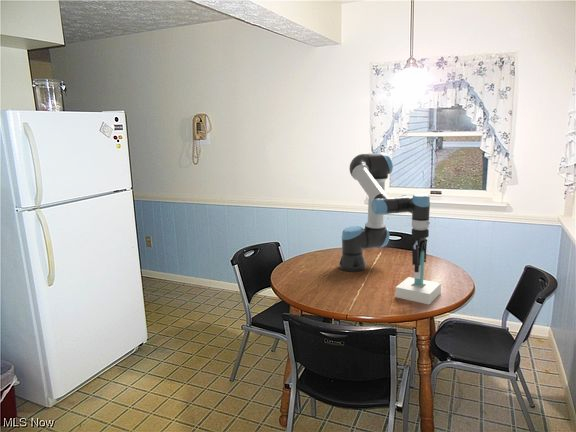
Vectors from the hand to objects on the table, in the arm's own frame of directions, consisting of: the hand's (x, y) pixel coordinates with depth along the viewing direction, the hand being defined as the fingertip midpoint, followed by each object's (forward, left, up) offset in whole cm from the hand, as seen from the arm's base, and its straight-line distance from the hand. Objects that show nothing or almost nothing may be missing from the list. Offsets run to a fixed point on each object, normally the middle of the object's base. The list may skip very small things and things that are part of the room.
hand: (418, 276), depth 199 cm
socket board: (0, 0, -9) cm, 9 cm away
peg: (0, 0, -4) cm, 4 cm away
